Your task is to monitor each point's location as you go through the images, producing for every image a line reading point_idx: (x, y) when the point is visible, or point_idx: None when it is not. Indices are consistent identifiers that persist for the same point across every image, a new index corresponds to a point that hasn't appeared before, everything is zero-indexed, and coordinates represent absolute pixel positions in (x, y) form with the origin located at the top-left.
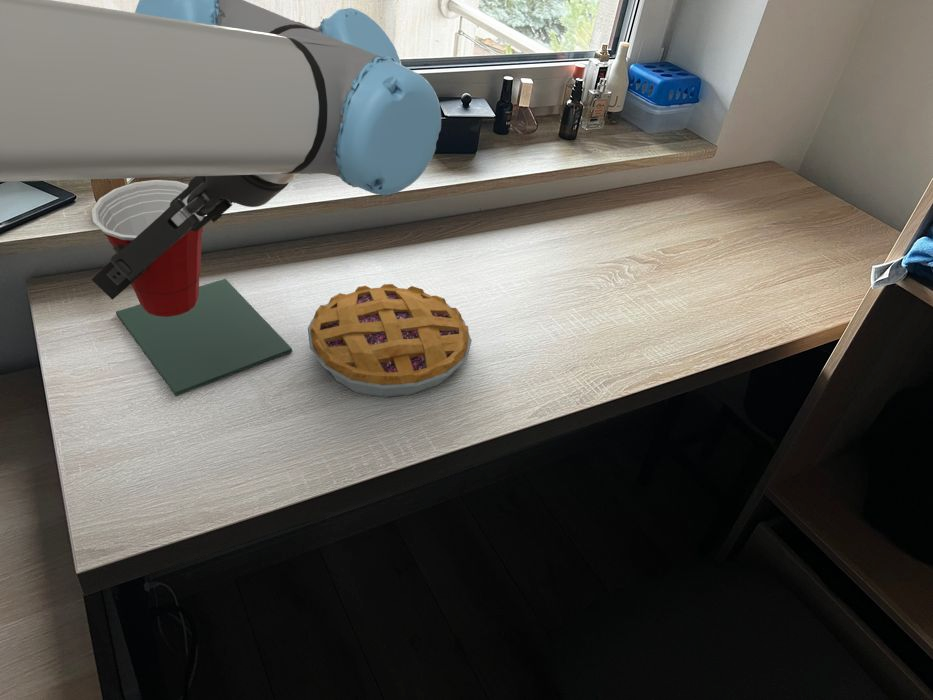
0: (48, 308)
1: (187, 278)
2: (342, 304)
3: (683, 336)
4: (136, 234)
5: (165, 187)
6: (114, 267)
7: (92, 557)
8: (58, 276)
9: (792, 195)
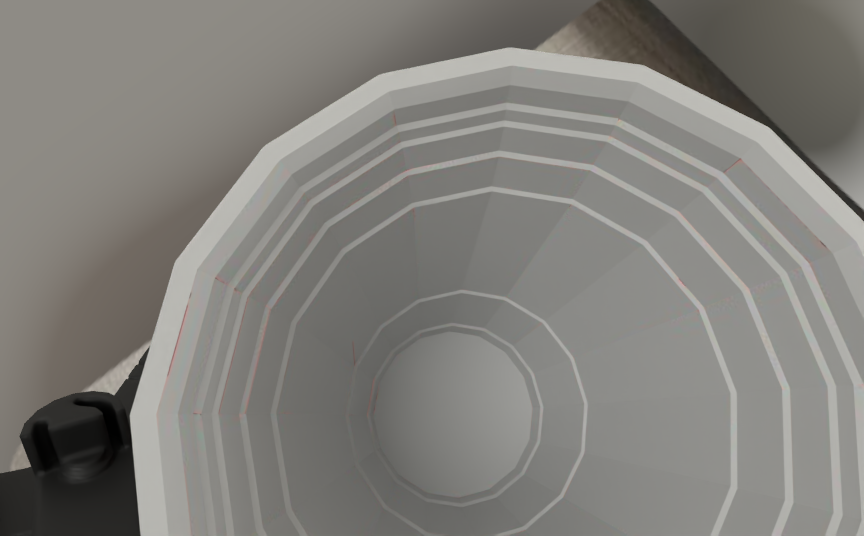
0: (567, 44)
1: None
2: None
3: None
4: (550, 250)
5: (845, 315)
6: (116, 393)
7: (16, 461)
8: (654, 8)
9: None
